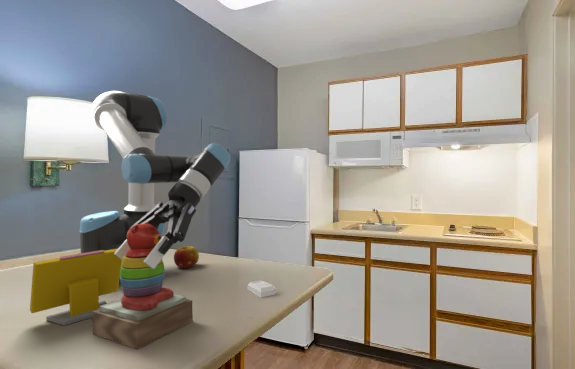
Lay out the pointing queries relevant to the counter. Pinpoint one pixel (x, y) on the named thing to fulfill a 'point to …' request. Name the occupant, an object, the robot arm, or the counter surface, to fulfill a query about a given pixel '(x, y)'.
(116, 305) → the plinth
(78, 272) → the toy computer monitor
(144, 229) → the stacking bear
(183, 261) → the fruit
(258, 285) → the white beveled block
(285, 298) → the counter surface
